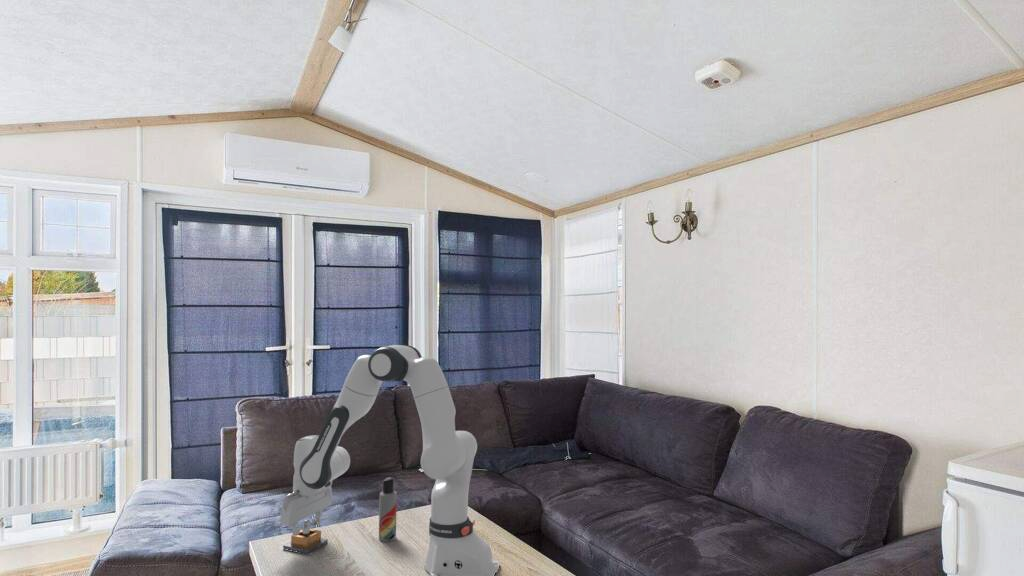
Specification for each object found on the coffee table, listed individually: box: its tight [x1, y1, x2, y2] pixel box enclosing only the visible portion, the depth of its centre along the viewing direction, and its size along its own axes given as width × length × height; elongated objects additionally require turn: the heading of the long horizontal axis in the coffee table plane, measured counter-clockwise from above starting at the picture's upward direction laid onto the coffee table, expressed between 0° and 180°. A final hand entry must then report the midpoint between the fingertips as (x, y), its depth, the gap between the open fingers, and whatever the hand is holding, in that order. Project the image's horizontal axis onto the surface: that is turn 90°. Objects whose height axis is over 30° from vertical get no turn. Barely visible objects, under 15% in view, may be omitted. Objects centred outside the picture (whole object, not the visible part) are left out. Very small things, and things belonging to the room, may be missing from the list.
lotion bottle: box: [378, 477, 398, 542], centre depth 183 cm, size 6×6×20 cm
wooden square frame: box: [290, 528, 322, 548], centre depth 176 cm, size 6×6×3 cm
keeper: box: [282, 519, 328, 555], centre depth 176 cm, size 10×9×8 cm
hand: (306, 529), depth 176 cm, fingers open, 8 cm apart
